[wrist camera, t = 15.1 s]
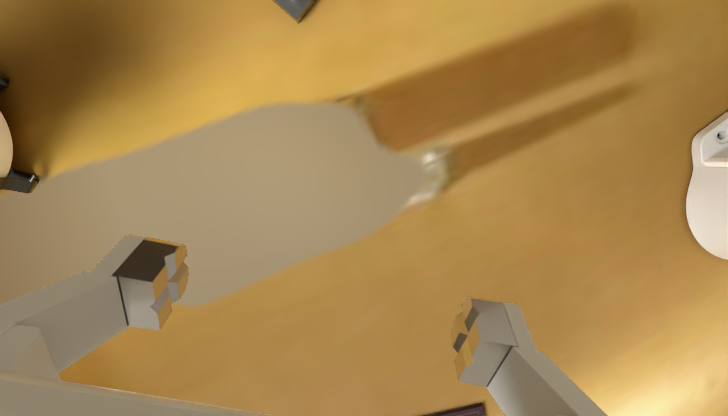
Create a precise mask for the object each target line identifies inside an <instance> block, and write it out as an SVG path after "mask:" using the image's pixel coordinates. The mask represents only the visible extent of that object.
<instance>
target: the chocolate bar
mask: <svg viewBox="0 0 728 416" xmlns="http://www.w3.org/2000/svg"><path fill="white" fill-rule="evenodd" d="M424 416H484V412H483V407H482V404H481V403H479V404H474V405H470V406H465V407H461V408H456V409H451V410H447V411H442V412H438V413H433V414H429V415H424Z"/></svg>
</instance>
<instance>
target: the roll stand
mask: <svg viewBox="0 0 728 416" xmlns="http://www.w3.org/2000/svg"><path fill="white" fill-rule="evenodd" d="M273 1H274V2H275V3H276V4H277V5H278V6H280V7H281V8H282V9H283V10H284V11H285V12H286V13H287V14H289V15H290V16H291V17H292V18H293V19H294V20H295V21H296V22H298V23H299V22H300V21H301V19H302V18H303V17H304V15H305V14H306V13H307V11H308V10H309V9H310V8H311V6H312V5H313V4H314V2H315V1H316V0H273Z"/></svg>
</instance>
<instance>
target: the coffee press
mask: <svg viewBox="0 0 728 416" xmlns="http://www.w3.org/2000/svg"><path fill="white" fill-rule="evenodd" d="M9 82H10V81H9V79H8V78H7V77H5V76H4V75H3V74H1V73H0V91H2V90H4V89H5V88H7V86H8V85H9ZM12 158H13V144H12V138H11V133H10V130H9V127H8V125H7V123H6V120H5V118H4V117H3V115H2V113H1V112H0V189H5V190H12V191H18V192H23V193H31V192H33V190H34V189H35V187H36V185H37V184H38V182H39V178H38V177H36V176H35V175H33V174H30V173H27V172H24V171H21V170H18V169H15V168H12V167H11V163H12Z"/></svg>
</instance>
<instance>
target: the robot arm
mask: <svg viewBox="0 0 728 416" xmlns="http://www.w3.org/2000/svg"><path fill="white" fill-rule="evenodd" d="M718 133H719V136H718V138H717V134H718ZM692 159H693V166H694V167H693V173H692V178H691V181H690V184H689V188H688V193H687V200H686V213H687V219H688V224H689V227H690V229H691V231H692V233H693V235H694V237H695V239H696V240H697V241H698V243H699V244H700V245H701V246H702V247H703V248H704V249H706V250H707V251H708V252H710V253H711V254H713V255H715V256H717V257H720V258H723V259H726V260H728V111H727V112H726V113H724V114H723V115H722V116H720V117H719V118H718V119H716V120H715V121H713V122H712V123H711V124H709V125H708V126H707V127H705V128H704V129H702V130H701V131H700V132H699V133H697V134H696V136H695V137H694V139H693V142H692ZM186 256H187V250H186V246H185V245H183V244H178V243H174V242H169V241H164V240H159V239H154V238H149V237H148V238H147V237H142V236H137V235H133V234H129V235H126V236H125V237H123V238H122V240H120V241H119V242H118V244H117V245H116V246H115V247H114V248H113V249H112V250H111V251H110V252H109V253H108V254H107V255H106V256H105V257H104V258H103V259H102V260H101V261H100V262H99V263H98V264H97V265H96V266H95V267H94V268H93V269H92V270H91V271H90V272H84V271H83V272H81V273H79V274H76V275H73V276H71V277H68V278H66V279H63V280H61V281H58V282H56V283H53V284H51V285H48V286H46V287H44V288H41V289H38V290H36V291H33V292H31V293H28V294H26V295H23V296H21V297H18V298H16V299H13V300H11V301H8V302H6V303H3V304H1V305H0V416H277V415H271V414H265V413H259V412H253V411H246V410H240V409H234V408H228V407H222V406H216V405H209V404H203V403H197V402H191V401H185V400H178V399H172V398H166V397H160V396H154V395H148V394H141V393H135V392H129V391H123V390H117V389H110V388H104V387H98V386H92V385H86V384H79V383H73V382H67V381H61V379H60V377H59V375H58V373H60V372H61V371H63V370H64V369H66V368H67V367H69V366H70V365H72V364H73V363H75V362H76V361H78V360H79V359H81V358H82V357H84V356H85V355H87V354H89V353H90V352H92V351H93V350H95V349H96V348H98V347H99V346H101V345H102V344H104V343H105V342H107V341H108V340H110V339H111V338H113V337H114V336H116V335H117V334H119V333H120V332H122V331H124V330H125V329H127V328H128V327H127V326H131V327H138V328H145V329H152V330H159V331H160V330H161V328H162V327H163V325H164V323H165V322H166V320H167V319H168V317H169V315H170V314H171V312H172V308H171V304H172V303H174V302H176V301H178V300H179V299H180V298H181V296H182V294H183V292H184V291H185V288H186V285H187V282H188V275H189V272H188V267H187V265H186V264H185V263H184V262H183V261H184V259H185V258H186ZM461 306H462V311H463V312H461V313H459V314H458V315H456V317H455V320H454V322H453V327H452V346H453V348H454V349H455V350H456V352H457V353H458V355H457V357H456V359H455V365H456V371H457V377H458V381H459V382H464V383H470V384H475V385H480V386H485V387H487V389H488V391H489V392H490V394H491V395H492V397H493V398H494V400H495V401H496V402H497V404H498V405H499V407H500V408H501V410H502V411H503V413H504V414H505V416H607V415H606V414H605V413H604V412H603V411H602V410H601V409H600V408H599V407H598V406H597V405H596V404H595V403H594V402H593V401H592V400H591V399H590V398H589V397H588V396H587V395H586V394H585V393H584V392H583V391H582V390H581V389H580V388H579V387H578V386H577V385H576V384H575V383H574V382H573V381H572V380H571V379H570V378H568V377H567V376H566V375H565V374H564V373H563V372H562V371H561V370H560V369H559V368H558V367H557V366H556V365H555V364H554V363H553V362H552V361H551V360H550V359H549V358H548V357H547V356H546V355H545V354H544V353H543V352H541V351H537V349H536V347H535V344H534V342H533V339H532V336H531V334H530V331H529V328H528V326H527V323H526V320H525V318H524V315H523V313H522V310H521V307H520V306H519V305H518V304H514V303H508V302H502V301H500V302H499V301H495V300H489V299H483V298H478V297H472V296H466V297H465V298H464V300H463V302H462V304H461Z"/></svg>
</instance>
